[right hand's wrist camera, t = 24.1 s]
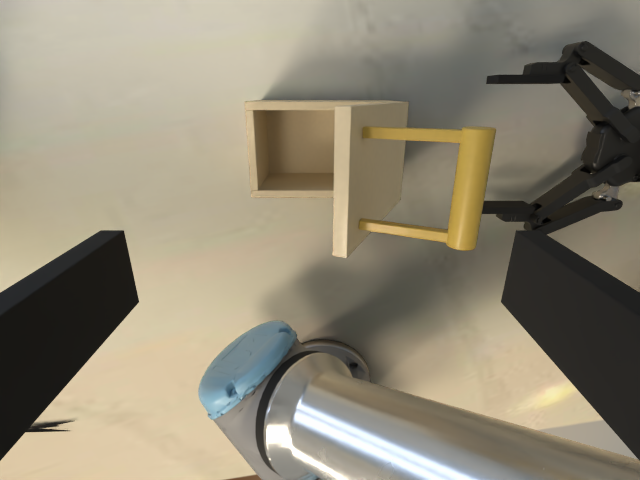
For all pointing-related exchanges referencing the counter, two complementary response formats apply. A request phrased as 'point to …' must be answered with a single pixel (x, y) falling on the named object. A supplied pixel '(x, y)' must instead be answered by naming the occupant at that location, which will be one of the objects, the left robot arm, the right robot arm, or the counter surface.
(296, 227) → the counter surface
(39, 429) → the feather
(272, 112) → the chest
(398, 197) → the lid
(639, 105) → the left robot arm
